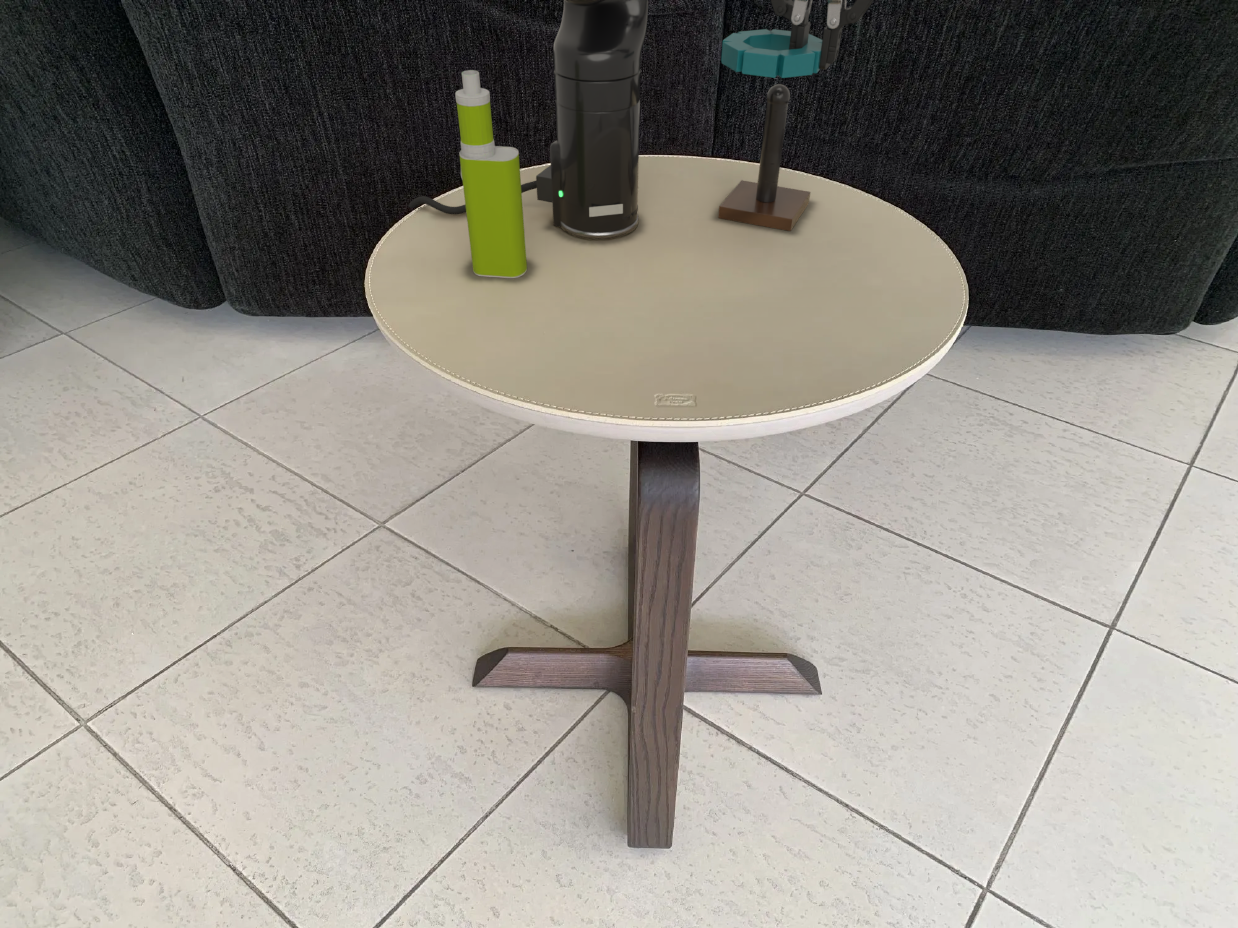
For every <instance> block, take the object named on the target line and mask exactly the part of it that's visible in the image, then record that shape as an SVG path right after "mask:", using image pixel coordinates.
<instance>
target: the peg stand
mask: <svg viewBox="0 0 1238 928" xmlns="http://www.w3.org/2000/svg"><path fill="white" fill-rule="evenodd" d="M790 99H791V92H790V89H789V88H788V87H787V86H786V85H784V84H781V83H780V84H779V83H778V84H774V85H772V86H771V87H770V88H769V89H768V91H767V94H766V108H765V114H764V115H765V117H764V125H763V134H762V142H761V150H760V158H759V159H760V160H759V166H758V167H759V169H758V177H757V182H754V181H748V180H743V179H741V180H740V181H739V183H737V185H736V186H735V187H734V188H733V190H732V191H731V192H730V193H729V194H728V195H727V197H725V199H724V200H723V201H722V203H720V205H719V206H718V216H717V218H718V219H722V220H727V221H732V222H737V223H744V224H749V225H755V226H759V227H765V228H772V229H777V230H781V231H787V232H792V230H793V228H794V227H795V225H796V224H797V222H798V220H799V219H800V218H801V216H802V214H803V213H804V211H805V210H806V209H807V207H808V205H809V203H810V198H811V191H809V190H803V189H796V188H791V187H785V186H778V185H779V178H780V169H781V162H782V154H783V148H784V147H783V145H784V138H785V132H786V131H785V130H786V125H787V124H786V123H787V117H788V109H789V102H790Z"/></svg>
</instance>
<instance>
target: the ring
mask: <svg viewBox="0 0 1238 928" xmlns="http://www.w3.org/2000/svg"><path fill="white" fill-rule="evenodd" d="M790 37H791V30H783V29H776V28H775V29H774V28H773V29H772V30H769V29H767V28H765V29H754V30H753V29H752V30H742V31H737V32H733V33H731V34H729V35H728V36H726V37H725V38H724V39H723V40H722V47H721V59H720V62H721V65H724V66H725V67H727V68H728V69H730V70H732V71H734V72H735V73H740V72H741V74H742V75H748V76H750V75H751V76H756V77H764V78H772V79H776V77H779V78H781V79H786V78H796V77H804V76H812V75H813V74H818V73H819V72H820V70H821V69H819V63H820V56H821V46H822V40H823V39H821V38H819V37H817V36H815V35H813V34H811V33H809V37H808V43H807V44H806V45H805V46H804V47H803V48H801V49H791V50H789V45H790Z"/></svg>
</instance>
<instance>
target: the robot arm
mask: <svg viewBox="0 0 1238 928" xmlns="http://www.w3.org/2000/svg"><path fill="white" fill-rule="evenodd" d="M874 1H875V0H855V1H854V3H853V4H852V6H850V7H847V0H827V14H826V27H824V29H823V34H822V39H821V40H822V46H821V56H820V63H819V69H820V70H823V71H824V70H827V69H828V68H829V67H830V65H832V64H833V63H835V61H836V60H837V58H838V56H839V51H840V45H841V38H842V33H843V28H844V26H846V25H850V24H856V23H858V21H859V20H860V19H861V18H862V17H863V16H864V15H865V13H866V12H867V10H868V9H869V8H870V6H871V5H872V3H874ZM770 3H771V6H772V9H773V12H774V14H775V15H776V16H778V17H783V18H785V19H787V20H788V21H789V22H790V24H791V30H790V31H791V37H790V45H789V50H791V49H801V48H803V47H804V46H805V45H806V44H807V43H808V37H809V34H810V28H811V21H809V17H810V15H811V14H810V13H811V9H812V6H813V5H812V4H813V0H770ZM648 13H649V0H563V12H562V18H561V22H560V26H559V29H558V32H557V35H556V37H555V38H554V42H553V47H552V53H553V54H552V59H553V60H552V61H553V79H554V81H553V82H554V103H555V129H556V140H554V141H553V142H552V143H551V144H550V146H549V160H550V161H549V162H550V165H549V166H548V167H545V168H544V169H543V170H542V171H541V172H540V173H538V174H537V175H536V176H535V180H532V181H529V182H525V183H523V184H522V183H521V193H522V194H523V193H525V192H528V191H532V190H535V189H536V199H537V201H542V202H546V203H551V205H552V220H553V226H554V227H558V228H561V229H562V230H563V231H564V232H565V233H567V234H569V235H571V236H574V237H577V238H582V239H587V240H610V239H615V238H620V237H623V236H626V235H628V234H630V233H632V232H634V231H635V230H636V229H637V227H638V225H639V214H638V213H639V203H638V202H639V167H640V166H639V165H640V163H639V160H640V154H639V153H640V114H641V112H640V111H641V108H640V107H641V68H642V67H641V66H642V65H641V64H642V53H643V47H644V43H645V40H646V35H647V29H648V28H647V27H648V17H649V14H648ZM421 205H427V206H429V207H431V208H433V209H434V210H436V211H439V212H441V213H444V214H447V215H462V214H465V213H466V205H465V204H463V205H459V206H449V205H446V204H443V203H441V202H440V201H437V200H435V199H433V198H431V197H429V196H426V195H421V196H417V197H415V198H413V199H412V200H411V201H410V203H409V204H408V205H407V206H408V208H410V209H415V208H418V207H419V206H421Z"/></svg>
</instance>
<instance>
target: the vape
mask: <svg viewBox="0 0 1238 928" xmlns="http://www.w3.org/2000/svg"><path fill="white" fill-rule="evenodd" d="M461 79H462V80H461V81H462V88H461V89H458V90H457V91H455V92H454V93H455V96H454V97H455V102H456V110H457V117H458V126H459V135H460V149H461V150H460V151H459V152H458V153H459V154H458V155H459V163H460V177H461V180H462V188H463V196H464V205H466V212H465V213H466V222H467V229H468V238H469V247H470V255H471V264H472V271H473V274H474V275H476V276H479V277H488V278H501V279H502V278H505V279H517V278H520V277H522V276H524V275H525V274H526V273H527V270H528V264H527V249H526V248H527V247H526V236H525V223H524V222H525V221H524V220H525V219H524V209H523V196H522V195H523V193H521V185H522V180H521V179H522V178H521V167H520V153H519V149H517V148H516V147H513V146H497V145H496V144H495V139H494V133H493V131H494V130H493V119H492V108H491V95H490V91H489V89H486V88H483V87H481V81H480V80H481V78H480V72H479V71H478V70H475V69H474V70H473V69H468V70H464V71H462V72H461Z"/></svg>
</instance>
